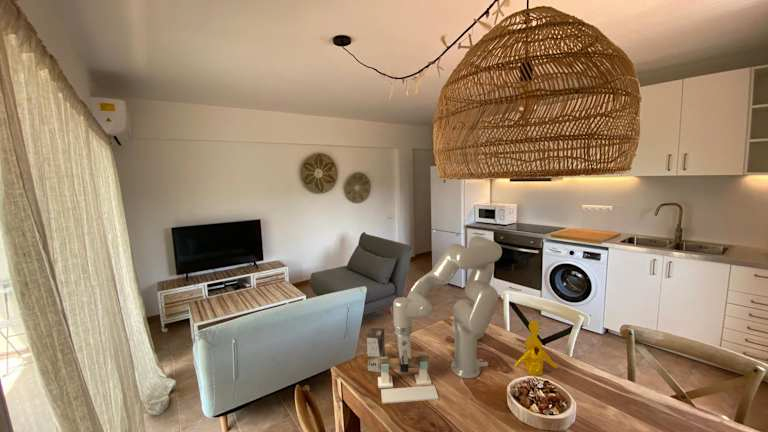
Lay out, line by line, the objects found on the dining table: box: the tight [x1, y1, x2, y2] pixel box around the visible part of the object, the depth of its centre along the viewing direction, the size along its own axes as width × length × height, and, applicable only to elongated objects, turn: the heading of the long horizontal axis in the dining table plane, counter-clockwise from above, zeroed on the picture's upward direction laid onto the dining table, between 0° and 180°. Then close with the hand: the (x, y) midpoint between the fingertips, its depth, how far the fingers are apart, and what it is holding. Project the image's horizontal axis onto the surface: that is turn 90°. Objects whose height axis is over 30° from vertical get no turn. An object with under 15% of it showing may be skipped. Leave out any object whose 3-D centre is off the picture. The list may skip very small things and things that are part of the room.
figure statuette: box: [514, 319, 559, 376], centre depth 134 cm, size 18×8×22 cm, turn 84°
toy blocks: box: [414, 354, 432, 387], centre depth 131 cm, size 6×6×10 cm
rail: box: [378, 355, 431, 371], centre depth 130 cm, size 22×3×3 cm, turn 93°
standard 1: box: [377, 356, 394, 389], centre depth 130 cm, size 6×6×10 cm
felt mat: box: [380, 385, 440, 404], centre depth 123 cm, size 22×7×1 cm, turn 93°
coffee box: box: [366, 327, 386, 373], centre depth 141 cm, size 9×6×16 cm
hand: (403, 368), depth 130 cm, fingers closed on rail, 3 cm apart
